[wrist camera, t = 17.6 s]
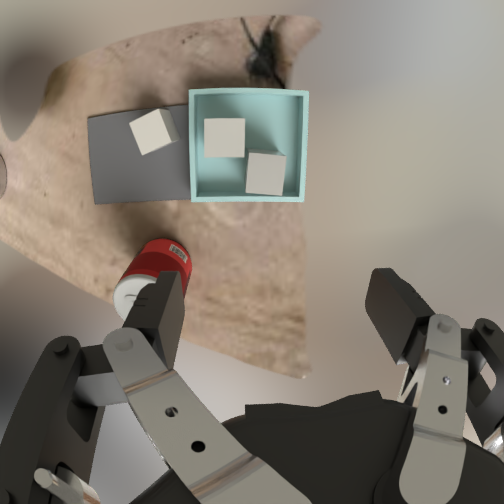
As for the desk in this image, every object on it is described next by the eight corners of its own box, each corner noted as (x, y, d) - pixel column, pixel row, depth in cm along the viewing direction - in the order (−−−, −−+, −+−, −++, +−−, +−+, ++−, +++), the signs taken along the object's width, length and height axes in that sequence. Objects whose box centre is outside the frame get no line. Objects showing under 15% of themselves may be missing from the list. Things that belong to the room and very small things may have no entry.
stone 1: (154, 150, 33) (142, 155, 28) (143, 122, 31) (129, 123, 26) (180, 139, 32) (171, 141, 28) (169, 110, 30) (158, 108, 26)
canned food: (137, 235, 38) (107, 274, 28) (193, 238, 38) (178, 280, 28) (141, 282, 41) (118, 329, 31) (193, 286, 41) (181, 336, 32)
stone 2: (210, 151, 33) (204, 157, 27) (210, 119, 31) (204, 118, 26) (243, 151, 33) (244, 157, 28) (244, 119, 31) (245, 118, 26)
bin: (195, 195, 36) (191, 202, 33) (193, 92, 30) (188, 89, 27) (298, 195, 36) (303, 202, 33) (302, 93, 31) (308, 91, 28)
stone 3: (244, 181, 35) (245, 192, 29) (247, 147, 33) (249, 152, 27) (275, 184, 35) (282, 195, 30) (278, 150, 33) (286, 156, 28)
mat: (96, 203, 35) (95, 204, 35) (89, 118, 30) (87, 118, 30) (192, 198, 36) (191, 199, 36) (190, 105, 31) (189, 104, 30)
